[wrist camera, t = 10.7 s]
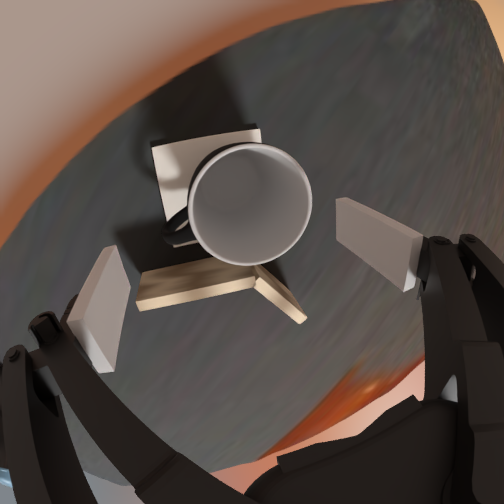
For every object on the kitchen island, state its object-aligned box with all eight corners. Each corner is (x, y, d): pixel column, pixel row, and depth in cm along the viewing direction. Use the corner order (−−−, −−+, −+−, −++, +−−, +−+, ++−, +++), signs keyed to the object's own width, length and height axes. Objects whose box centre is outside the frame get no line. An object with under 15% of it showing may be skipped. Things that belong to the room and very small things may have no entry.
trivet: (173, 245, 29) (173, 247, 29) (152, 147, 24) (151, 147, 24) (269, 225, 31) (270, 227, 31) (258, 129, 26) (259, 128, 26)
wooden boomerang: (161, 324, 33) (160, 356, 28) (142, 272, 30) (135, 301, 24) (290, 294, 36) (307, 322, 31) (286, 241, 32) (307, 263, 27)
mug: (250, 124, 25) (284, 121, 16) (284, 198, 30) (328, 230, 21) (144, 181, 25) (124, 208, 16) (188, 251, 29) (192, 304, 20)
